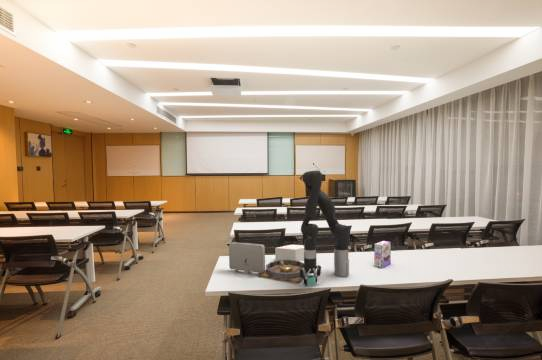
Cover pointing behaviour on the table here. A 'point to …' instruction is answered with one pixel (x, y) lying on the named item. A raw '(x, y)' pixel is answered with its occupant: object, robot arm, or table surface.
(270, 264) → the ring gear
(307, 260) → the robot arm
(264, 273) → the carrier plate
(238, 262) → the network device
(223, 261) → the table surface
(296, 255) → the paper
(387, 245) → the candy box
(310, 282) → the teal short hollow cylinder
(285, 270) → the sun gear
